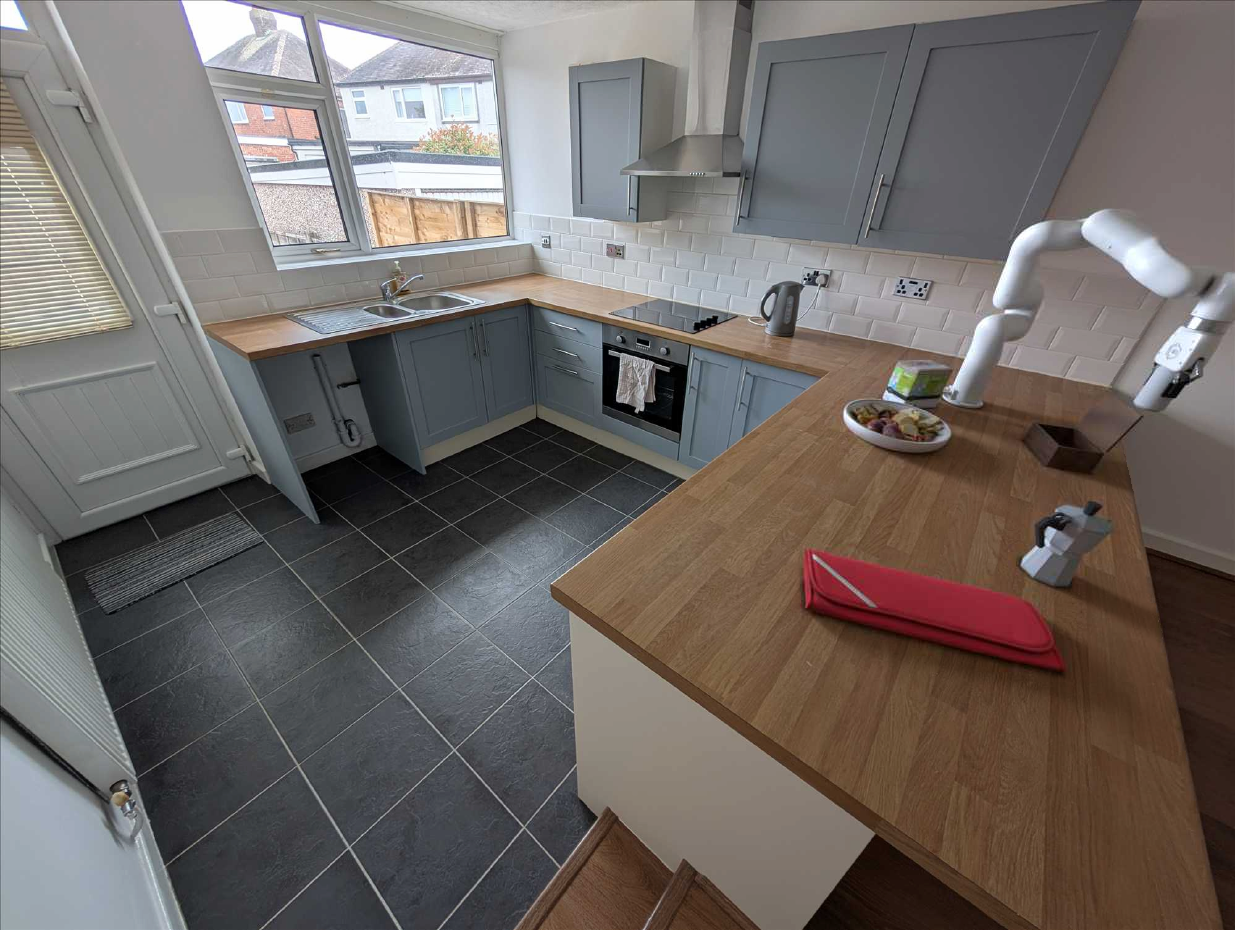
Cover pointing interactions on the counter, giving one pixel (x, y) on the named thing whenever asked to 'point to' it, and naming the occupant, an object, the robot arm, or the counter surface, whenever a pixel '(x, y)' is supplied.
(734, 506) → the counter surface
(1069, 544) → the coffee maker
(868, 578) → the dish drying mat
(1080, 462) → the chest
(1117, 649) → the counter surface
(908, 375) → the tea box
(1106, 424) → the chest lid
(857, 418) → the bowl
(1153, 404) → the beverage can
